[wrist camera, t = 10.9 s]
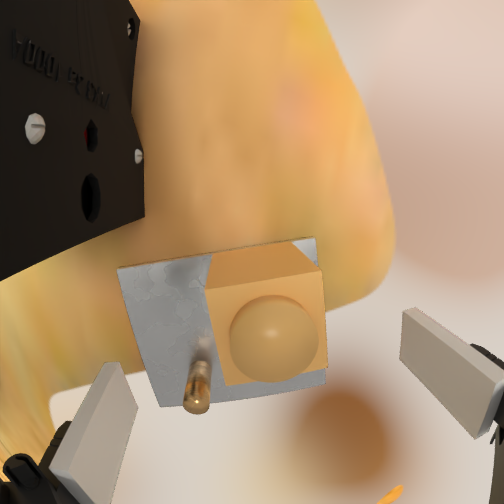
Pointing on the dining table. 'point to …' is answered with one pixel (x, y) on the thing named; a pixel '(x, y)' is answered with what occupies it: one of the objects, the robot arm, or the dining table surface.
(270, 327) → the cube with dome knob
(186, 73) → the dining table surface
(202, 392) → the amber glass cylinder
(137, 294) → the plate
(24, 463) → the robot arm
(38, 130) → the electrical component
